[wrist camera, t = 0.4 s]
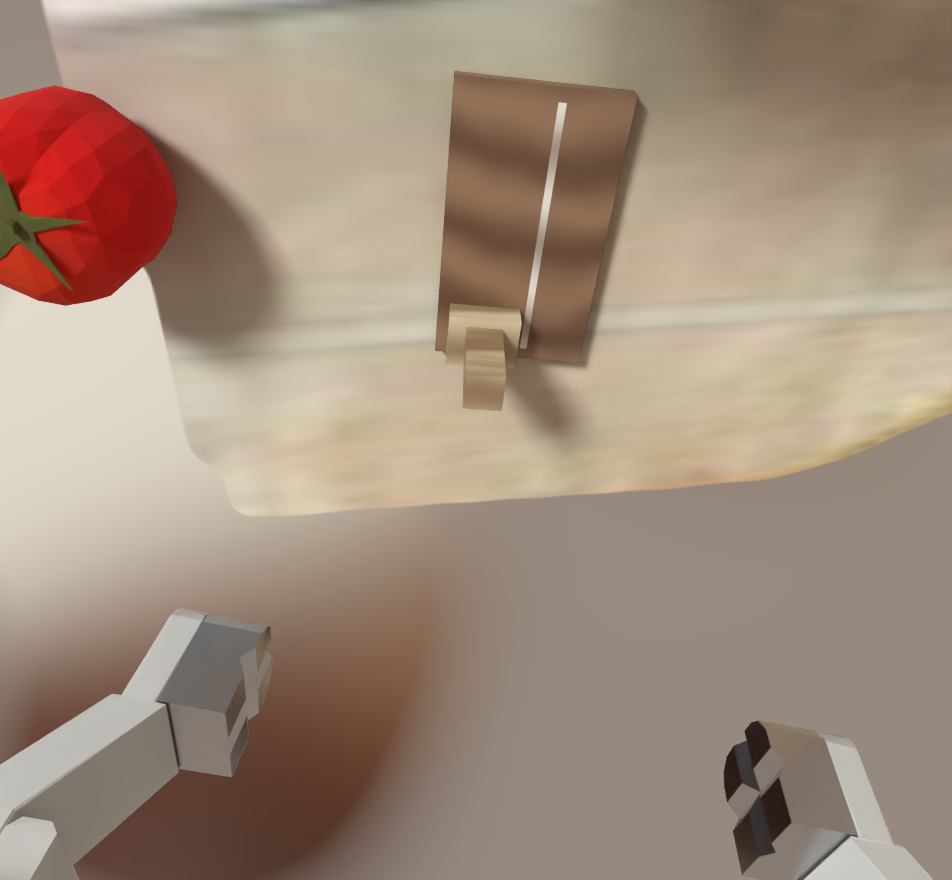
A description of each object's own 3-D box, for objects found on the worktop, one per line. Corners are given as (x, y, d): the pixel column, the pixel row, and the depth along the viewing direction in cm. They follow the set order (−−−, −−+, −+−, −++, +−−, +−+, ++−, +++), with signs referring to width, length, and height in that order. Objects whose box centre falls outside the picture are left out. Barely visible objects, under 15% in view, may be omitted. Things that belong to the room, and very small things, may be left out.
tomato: (183, 81, 47) (97, 127, 36) (213, 263, 56) (151, 345, 45) (-45, 60, 46) (-202, 101, 36) (21, 249, 55) (-89, 328, 44)
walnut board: (454, 71, 47) (454, 75, 46) (633, 90, 48) (638, 95, 47) (435, 342, 60) (435, 350, 59) (576, 353, 61) (578, 362, 60)
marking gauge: (450, 303, 56) (446, 364, 49) (519, 309, 57) (527, 371, 49) (446, 349, 59) (442, 414, 51) (512, 354, 60) (519, 420, 52)
